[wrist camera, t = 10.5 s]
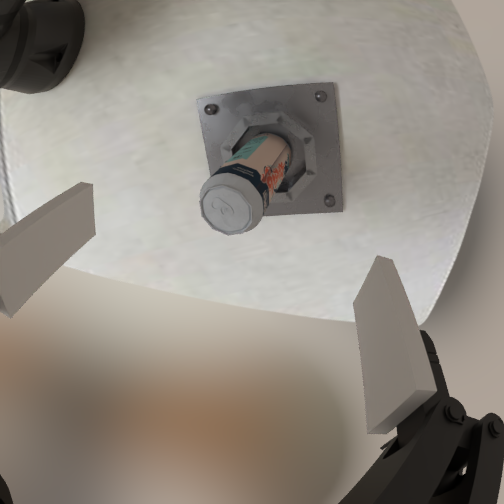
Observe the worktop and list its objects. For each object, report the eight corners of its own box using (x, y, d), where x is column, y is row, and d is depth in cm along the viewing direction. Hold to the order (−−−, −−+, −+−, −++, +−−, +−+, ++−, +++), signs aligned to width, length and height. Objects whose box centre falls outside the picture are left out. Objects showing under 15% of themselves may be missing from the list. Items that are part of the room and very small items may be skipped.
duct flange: (198, 99, 28) (185, 100, 25) (332, 82, 25) (336, 80, 22) (220, 217, 34) (212, 230, 31) (341, 209, 31) (345, 223, 28)
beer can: (275, 183, 31) (236, 251, 22) (239, 156, 30) (183, 213, 21) (302, 151, 27) (273, 210, 19) (264, 122, 27) (212, 165, 18)
